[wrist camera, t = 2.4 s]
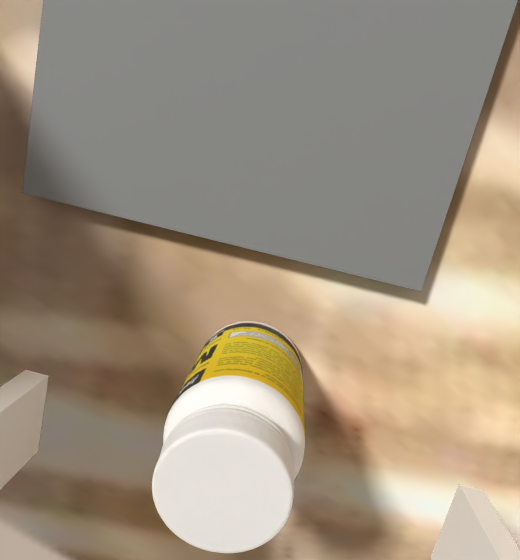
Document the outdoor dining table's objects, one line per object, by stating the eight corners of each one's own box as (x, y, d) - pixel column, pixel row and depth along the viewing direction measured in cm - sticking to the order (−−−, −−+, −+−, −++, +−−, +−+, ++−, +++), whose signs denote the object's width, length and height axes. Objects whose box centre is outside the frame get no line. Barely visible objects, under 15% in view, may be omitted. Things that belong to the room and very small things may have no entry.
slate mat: (33, 192, 19) (22, 193, 18) (73, -158, 16) (62, -175, 16) (415, 287, 19) (420, 291, 18) (527, -53, 16) (539, -65, 15)
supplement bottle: (212, 306, 20) (156, 394, 12) (314, 334, 20) (330, 441, 12) (189, 400, 21) (123, 542, 13) (286, 427, 21) (282, 585, 13)
